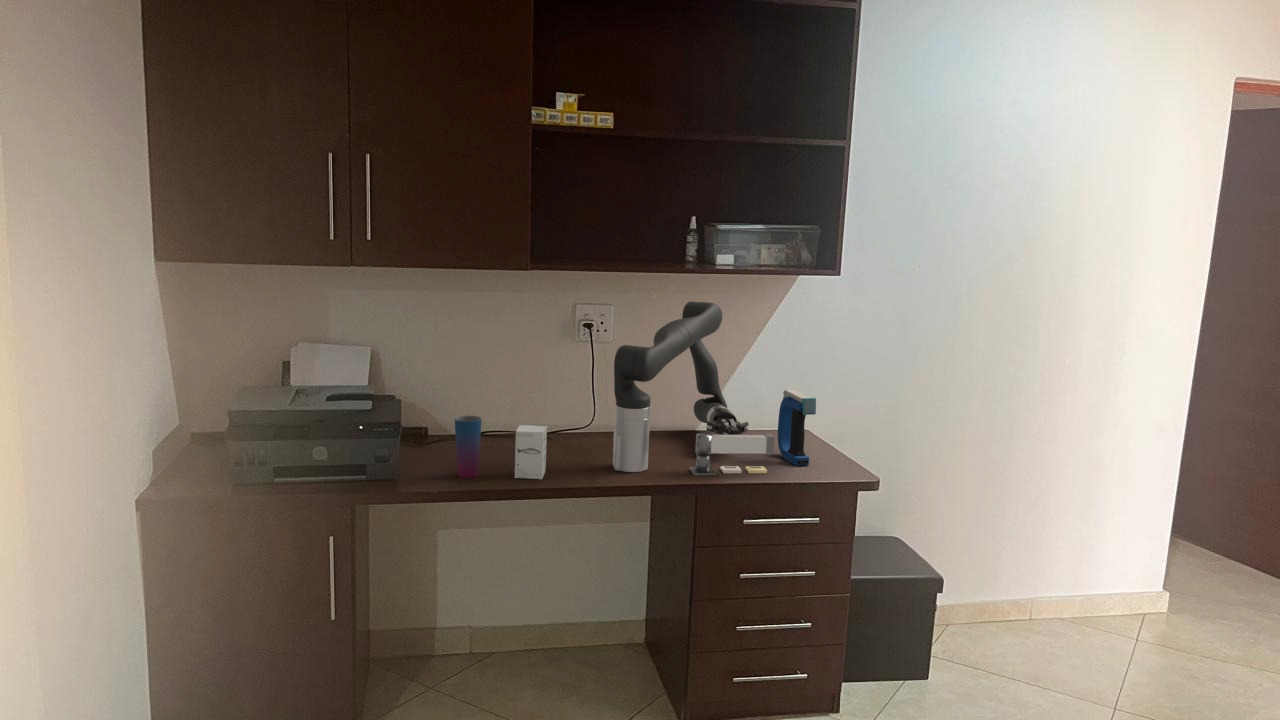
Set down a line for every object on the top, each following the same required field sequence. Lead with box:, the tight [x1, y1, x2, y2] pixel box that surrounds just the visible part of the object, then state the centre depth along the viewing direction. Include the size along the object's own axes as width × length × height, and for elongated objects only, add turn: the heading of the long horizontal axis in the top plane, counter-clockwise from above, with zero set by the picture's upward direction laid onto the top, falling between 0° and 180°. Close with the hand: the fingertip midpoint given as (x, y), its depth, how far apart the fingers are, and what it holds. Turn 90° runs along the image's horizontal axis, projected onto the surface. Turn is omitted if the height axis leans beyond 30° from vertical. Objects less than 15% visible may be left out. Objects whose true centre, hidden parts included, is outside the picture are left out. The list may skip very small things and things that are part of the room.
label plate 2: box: [745, 465, 768, 474], centre depth 254 cm, size 5×4×1 cm
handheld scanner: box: [777, 389, 817, 467], centre depth 265 cm, size 5×16×20 cm, turn 15°
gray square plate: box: [689, 453, 717, 476], centre depth 251 cm, size 6×6×5 cm
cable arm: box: [694, 432, 775, 455], centre depth 251 cm, size 21×4×5 cm, turn 97°
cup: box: [454, 414, 483, 479], centre depth 239 cm, size 7×7×15 cm
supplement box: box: [514, 424, 548, 480], centre depth 241 cm, size 7×7×13 cm
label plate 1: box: [720, 465, 743, 474], centre depth 253 cm, size 5×4×1 cm
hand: (734, 433), depth 263 cm, fingers closed
